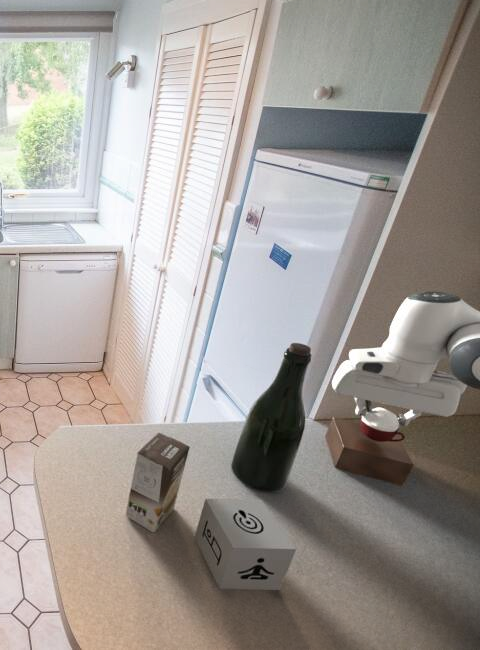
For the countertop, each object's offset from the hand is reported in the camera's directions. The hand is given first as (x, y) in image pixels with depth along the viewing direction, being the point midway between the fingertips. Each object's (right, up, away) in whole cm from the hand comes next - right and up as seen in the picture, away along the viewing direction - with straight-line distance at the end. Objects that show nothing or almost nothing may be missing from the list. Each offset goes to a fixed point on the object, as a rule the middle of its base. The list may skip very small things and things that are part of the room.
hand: (380, 418), depth 100 cm
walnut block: (0, -11, +5) cm, 12 cm away
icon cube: (-44, -21, -19) cm, 52 cm away
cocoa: (0, -4, +2) cm, 5 cm away
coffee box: (-55, -17, -9) cm, 58 cm away
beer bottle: (-27, -13, 0) cm, 30 cm away
